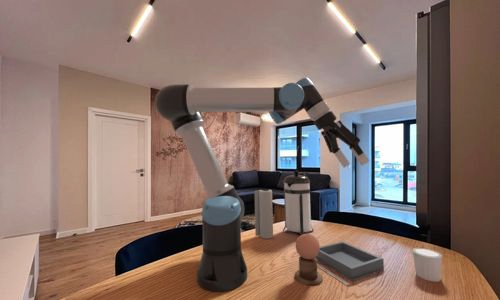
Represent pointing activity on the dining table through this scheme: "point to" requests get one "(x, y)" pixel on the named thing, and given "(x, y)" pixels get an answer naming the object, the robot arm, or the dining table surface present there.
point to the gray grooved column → (263, 214)
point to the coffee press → (297, 203)
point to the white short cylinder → (427, 264)
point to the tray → (350, 260)
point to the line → (333, 275)
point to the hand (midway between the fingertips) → (355, 164)
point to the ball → (307, 246)
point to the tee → (308, 272)
